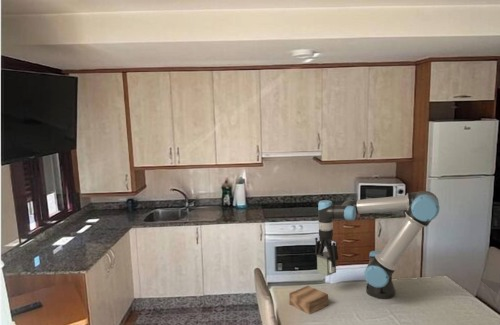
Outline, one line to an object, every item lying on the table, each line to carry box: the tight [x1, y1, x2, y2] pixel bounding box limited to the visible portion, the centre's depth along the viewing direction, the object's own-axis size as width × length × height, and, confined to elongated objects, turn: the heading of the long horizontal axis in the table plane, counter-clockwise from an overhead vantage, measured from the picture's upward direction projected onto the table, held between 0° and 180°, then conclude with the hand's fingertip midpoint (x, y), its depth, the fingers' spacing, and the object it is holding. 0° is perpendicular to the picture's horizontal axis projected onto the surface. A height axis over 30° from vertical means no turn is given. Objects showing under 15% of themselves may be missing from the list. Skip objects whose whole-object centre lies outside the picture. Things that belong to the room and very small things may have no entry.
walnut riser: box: [289, 285, 329, 315], centre depth 194 cm, size 14×14×6 cm
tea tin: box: [316, 251, 337, 277], centre depth 203 cm, size 7×7×10 cm
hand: (326, 270), depth 204 cm, fingers closed on tea tin, 7 cm apart
